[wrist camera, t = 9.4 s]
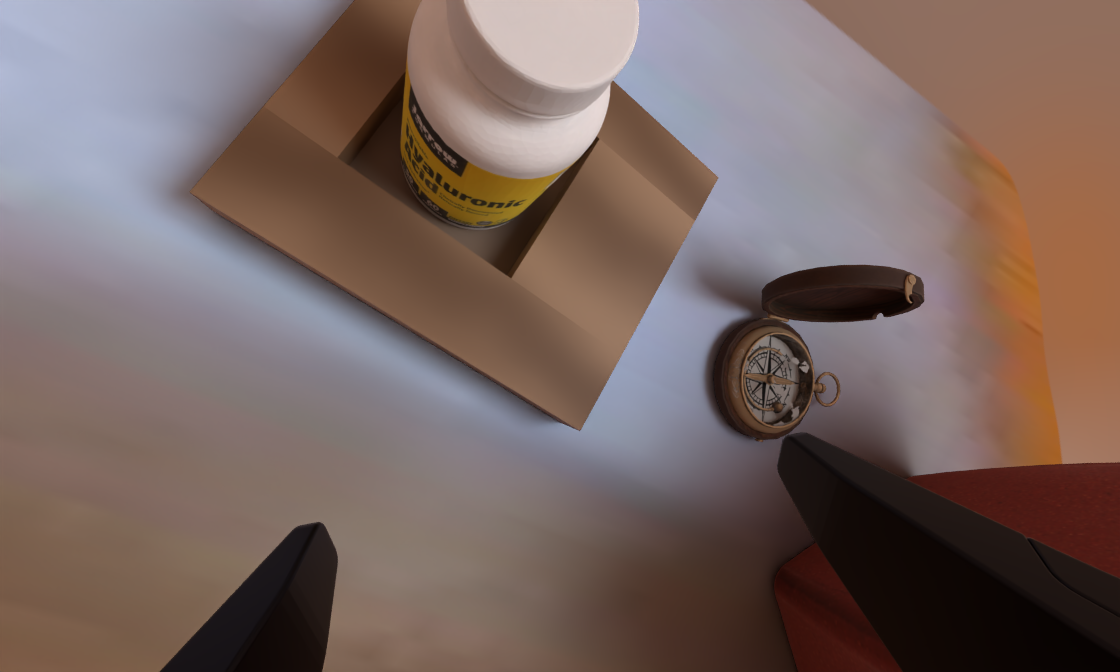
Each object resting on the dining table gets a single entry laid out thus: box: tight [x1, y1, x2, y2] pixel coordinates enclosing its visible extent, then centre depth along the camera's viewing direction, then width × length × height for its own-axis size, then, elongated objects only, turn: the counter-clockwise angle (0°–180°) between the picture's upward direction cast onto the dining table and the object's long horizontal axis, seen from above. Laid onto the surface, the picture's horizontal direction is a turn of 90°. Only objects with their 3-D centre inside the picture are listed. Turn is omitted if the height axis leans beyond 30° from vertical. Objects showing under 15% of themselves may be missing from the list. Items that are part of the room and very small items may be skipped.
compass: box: [714, 265, 924, 442], centre depth 21 cm, size 8×8×7 cm
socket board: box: [190, 0, 718, 431], centre depth 18 cm, size 13×15×2 cm
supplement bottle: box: [400, 0, 639, 230], centre depth 14 cm, size 5×5×10 cm
